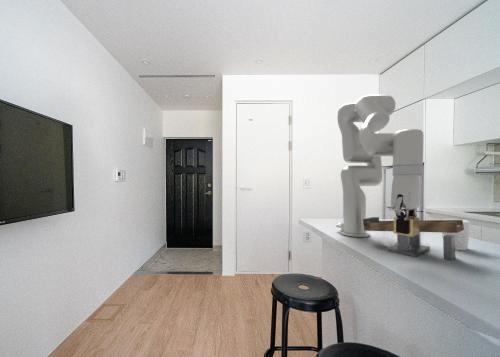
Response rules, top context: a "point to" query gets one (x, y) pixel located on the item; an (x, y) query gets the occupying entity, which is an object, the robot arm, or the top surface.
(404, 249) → the pivot stand
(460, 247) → the white cup
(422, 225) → the beam
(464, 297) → the top surface
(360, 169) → the robot arm
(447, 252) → the block
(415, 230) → the block
